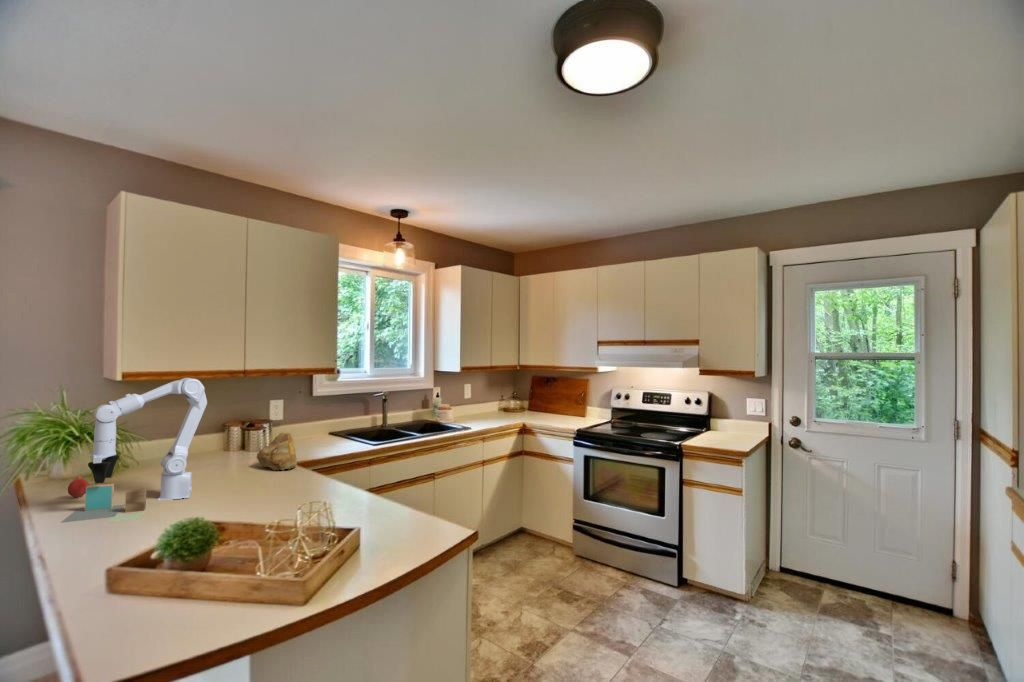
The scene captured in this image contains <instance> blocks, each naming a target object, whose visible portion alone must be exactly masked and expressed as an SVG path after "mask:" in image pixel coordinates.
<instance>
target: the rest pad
mask: <svg viewBox="0 0 1024 682" xmlns="http://www.w3.org/2000/svg"><path fill="white" fill-rule="evenodd" d="M144 513H145V511H137V512H128V513H122V514H121V513H120V514H116V515H114V517H110V518H109V519H108V521H107V523H113V522H119V521H128V520H137V519H140V518H141V517H142V516H143V514H144Z"/></svg>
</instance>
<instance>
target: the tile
mask: <svg viewBox="0 0 1024 682" xmlns="http://www.w3.org/2000/svg"><path fill="white" fill-rule="evenodd" d="M84 496H85V499H84V509H85V511H94V510H104V509H112V508H113V506H114V499H115V498H114V496H115V483H105V484H104V483H103V484H93V485H89V486H87V487H86V493H85V495H84Z"/></svg>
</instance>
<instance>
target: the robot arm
mask: <svg viewBox="0 0 1024 682" xmlns="http://www.w3.org/2000/svg"><path fill="white" fill-rule="evenodd" d="M205 389H206V388H205V386H204V385H203V383H202V382H201V381H200V380H199V379H197V378H191V377H184V378H182V379H178V380H173V381H171V382H169V383H166V384H163V385H161V386H158V387H156V388H154V389H151V390H149V391H147V392H144V393H141V394H137V393H132V394H131V393H127V394H125V395H124V397H122V398H119V399H115V400H114V401H113V400H109V401H108V403H109V404H101V405H99V406H98V407H97V408H96V409H95V410H94V413H93V417H94V418H95V422H94V429H93V432H94V433H93V452H92V453H89V454H88V458H89V457H92V461H90V462H88V463H87V466H88V467H89V469H90V471H91V473H92V475H93V476H92V477H93V481H94V485H99V484H104V483H105V482H106V481H105V480H106V479H108V478H112V476H113V473H114V470H115V467H116V465H117V462H118V460H119V458H120V455H118V454H117V451H116V449H117V448H116V447H117V446H116V445H117V424H116V423H117V421H116V420H117V419H118V417H123V416H125V415H128V414H131V413H133V412H136V411H137V410H140V409H143V406H144V405H145V404H146V403H148V402H151V401H153V400H157V399H159V398H162V397H164V396H167V395H170V394H174V395H175V394H176V395H183V396H184V397H185V398H186V400H187V401H188V402H189V404H190V405H189V407H188V409H187V412H186V414H185V416H184V418H183V421H182V423H181V426H180V428H179V430H178V433H177V435H176V437H175V440H174V442H173V444H172V445H171V447H170V448H169V449H168V451H167V453H166V454H165V455H164V456H163V457H162V458H161V461H160V465H161V467H162V468H163V470H162V471H161V474H160V493H159V494H160V496H159V497H158V498H157V499H156V501H157V502H158V501H168V500H169V501H170V500H173V499H174V500H181V499H182V498H184V499H189V498H190V496H191V495H192V492H193V491H192V490H193V487H192V485H193V472H192V471H186V468H187V458H188V456H189V448H190V445H191V443H192V440H193V439H194V436H195V433H196V431H197V429H198V426H199V425H200V424H199V423H200V422H201V419H202V416H203V415H204V412H205V410H206V408H207V405H208V399H207V396H206V392H205Z"/></svg>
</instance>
